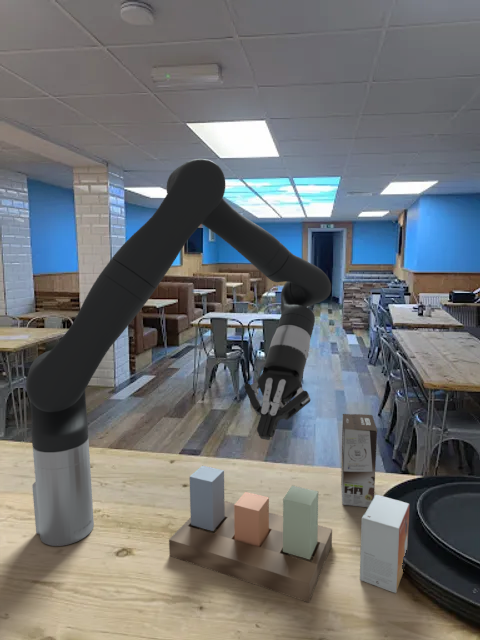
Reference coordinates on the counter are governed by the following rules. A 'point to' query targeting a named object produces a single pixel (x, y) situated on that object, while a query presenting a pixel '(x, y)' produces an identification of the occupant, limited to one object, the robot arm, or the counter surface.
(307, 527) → the sage block
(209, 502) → the slate block
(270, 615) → the counter surface
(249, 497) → the terracotta block
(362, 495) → the coffee box
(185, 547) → the walnut board
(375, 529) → the small box
